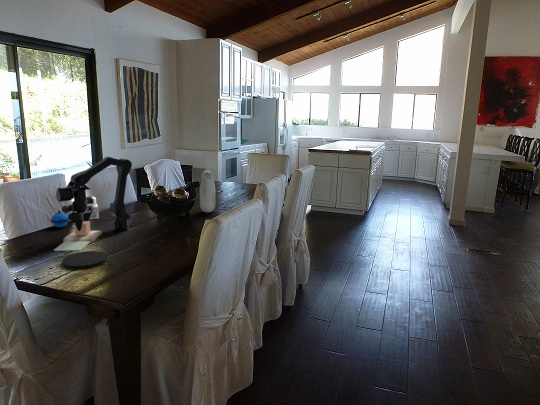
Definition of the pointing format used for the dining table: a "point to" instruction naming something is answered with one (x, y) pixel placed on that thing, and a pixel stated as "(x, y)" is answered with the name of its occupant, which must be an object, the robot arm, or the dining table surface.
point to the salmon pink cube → (83, 228)
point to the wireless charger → (84, 260)
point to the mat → (72, 246)
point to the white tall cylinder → (207, 192)
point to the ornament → (59, 219)
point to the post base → (82, 237)
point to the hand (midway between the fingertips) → (82, 228)
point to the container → (93, 203)
